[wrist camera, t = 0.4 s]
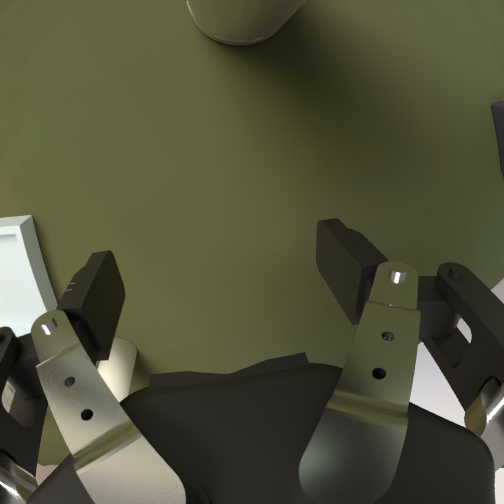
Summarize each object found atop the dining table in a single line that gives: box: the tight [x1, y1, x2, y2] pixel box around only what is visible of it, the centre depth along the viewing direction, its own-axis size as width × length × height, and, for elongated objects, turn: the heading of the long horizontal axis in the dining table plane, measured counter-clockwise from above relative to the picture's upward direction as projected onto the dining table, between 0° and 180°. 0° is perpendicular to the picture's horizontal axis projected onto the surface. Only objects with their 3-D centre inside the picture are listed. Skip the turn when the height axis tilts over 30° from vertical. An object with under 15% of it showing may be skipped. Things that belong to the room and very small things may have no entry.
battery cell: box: [98, 338, 137, 402], centre depth 34 cm, size 5×5×12 cm
